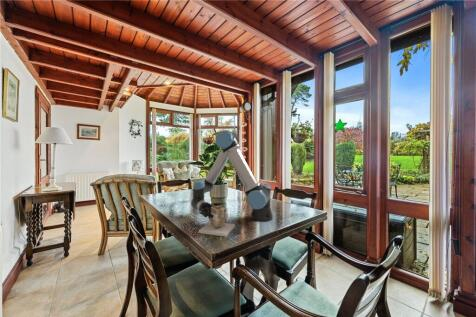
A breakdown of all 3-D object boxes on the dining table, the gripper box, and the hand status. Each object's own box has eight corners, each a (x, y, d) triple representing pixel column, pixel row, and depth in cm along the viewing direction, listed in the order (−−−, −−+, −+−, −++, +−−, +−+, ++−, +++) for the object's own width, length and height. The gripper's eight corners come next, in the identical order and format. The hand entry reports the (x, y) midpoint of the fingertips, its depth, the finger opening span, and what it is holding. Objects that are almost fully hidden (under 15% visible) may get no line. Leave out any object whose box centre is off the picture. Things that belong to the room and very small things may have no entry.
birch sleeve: (219, 222, 127) (220, 205, 127) (224, 225, 122) (225, 208, 122) (210, 224, 124) (210, 207, 123) (215, 227, 119) (215, 209, 118)
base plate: (235, 226, 128) (235, 218, 128) (226, 236, 113) (226, 227, 113) (210, 223, 133) (210, 215, 133) (198, 232, 117) (198, 223, 117)
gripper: (217, 211, 143) (236, 221, 124) (190, 215, 132) (206, 226, 113) (217, 200, 143) (236, 208, 123) (190, 203, 132) (206, 212, 113)
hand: (222, 217), depth 118 cm, fingers closed on birch sleeve, 6 cm apart
